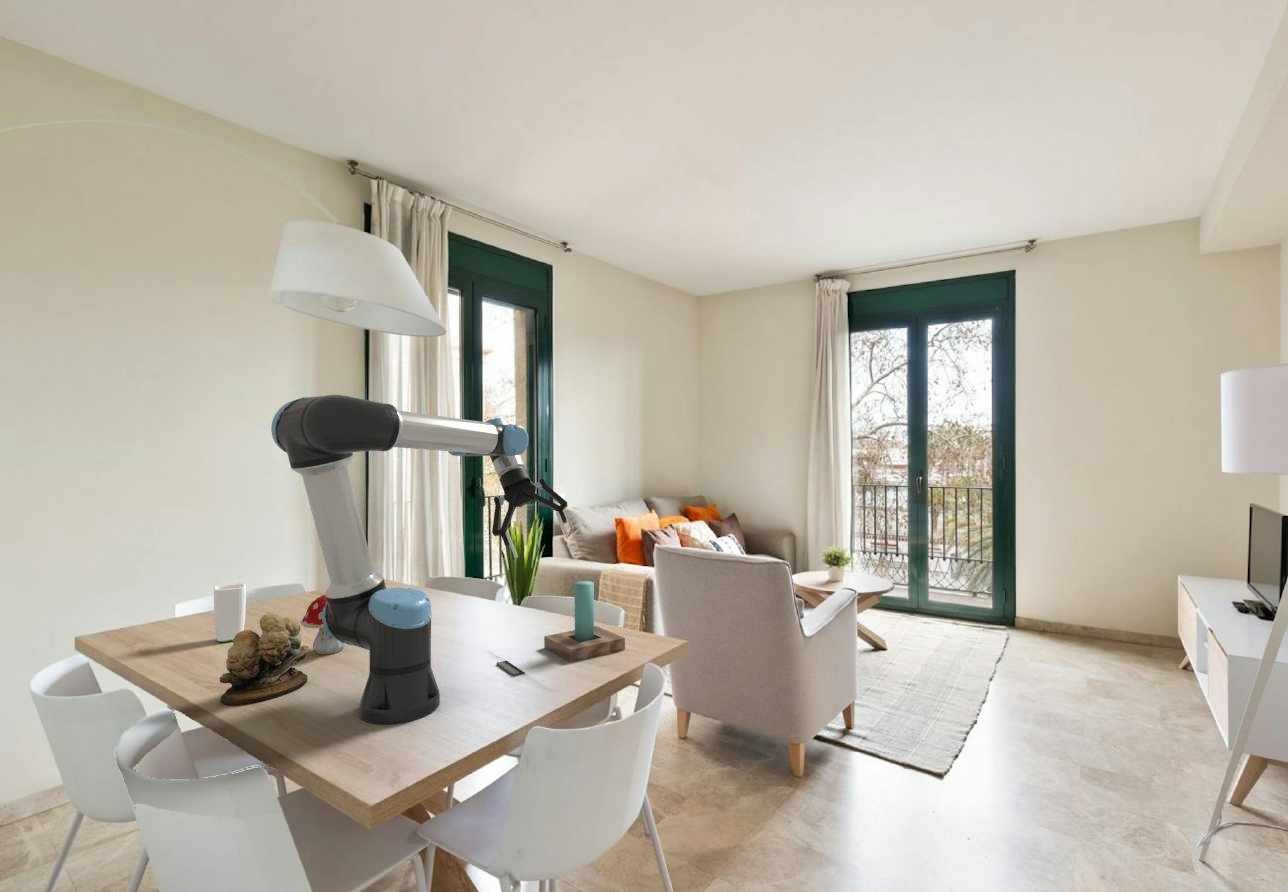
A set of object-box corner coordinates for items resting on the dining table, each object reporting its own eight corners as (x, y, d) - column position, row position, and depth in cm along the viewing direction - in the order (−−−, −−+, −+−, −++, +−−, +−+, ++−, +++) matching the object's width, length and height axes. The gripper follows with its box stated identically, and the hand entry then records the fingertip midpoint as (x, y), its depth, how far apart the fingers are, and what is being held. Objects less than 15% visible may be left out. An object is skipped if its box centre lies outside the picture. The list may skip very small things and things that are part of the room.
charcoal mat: (513, 676, 142) (513, 674, 142) (496, 664, 150) (496, 662, 150) (552, 667, 148) (552, 665, 148) (533, 656, 156) (533, 654, 156)
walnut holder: (570, 666, 149) (570, 649, 149) (544, 651, 160) (544, 636, 160) (625, 653, 158) (624, 637, 158) (596, 640, 170) (596, 625, 170)
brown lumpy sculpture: (293, 673, 145) (293, 601, 146) (323, 682, 139) (323, 607, 140) (208, 699, 130) (208, 618, 130) (238, 711, 124) (238, 626, 124)
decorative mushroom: (369, 648, 164) (369, 592, 164) (317, 663, 152) (317, 602, 152) (341, 639, 172) (341, 586, 172) (289, 653, 160) (289, 595, 160)
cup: (243, 634, 177) (244, 582, 177) (246, 640, 171) (246, 587, 172) (213, 639, 173) (213, 586, 173) (214, 645, 167) (214, 590, 167)
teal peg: (580, 652, 156) (580, 586, 156) (571, 648, 160) (571, 582, 160) (597, 649, 159) (597, 583, 159) (587, 644, 163) (587, 580, 163)
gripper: (557, 460, 168) (587, 530, 162) (469, 494, 162) (496, 568, 156) (556, 451, 161) (587, 523, 155) (463, 486, 155) (492, 563, 149)
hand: (541, 546), depth 156 cm, fingers open, 13 cm apart
